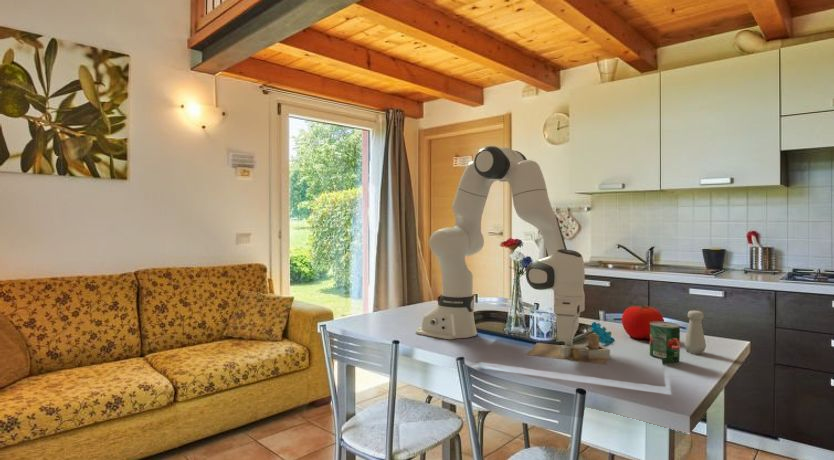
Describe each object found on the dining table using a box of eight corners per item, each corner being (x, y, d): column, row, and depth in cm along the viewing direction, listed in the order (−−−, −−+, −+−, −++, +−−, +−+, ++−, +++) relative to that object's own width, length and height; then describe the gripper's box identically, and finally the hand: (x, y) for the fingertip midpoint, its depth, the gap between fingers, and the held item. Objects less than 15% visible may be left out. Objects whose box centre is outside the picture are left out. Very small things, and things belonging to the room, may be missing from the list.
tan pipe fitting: (566, 360, 135) (566, 349, 135) (557, 353, 142) (557, 343, 141) (609, 358, 137) (610, 348, 136) (599, 352, 143) (599, 342, 143)
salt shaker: (704, 356, 143) (705, 313, 143) (683, 353, 147) (683, 311, 147) (706, 351, 148) (707, 310, 148) (686, 348, 152) (686, 308, 151)
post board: (526, 359, 141) (526, 334, 140) (536, 347, 154) (536, 324, 154) (605, 369, 131) (605, 343, 131) (609, 355, 144) (609, 331, 144)
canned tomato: (648, 356, 144) (648, 320, 144) (677, 358, 141) (678, 322, 141) (650, 363, 137) (650, 325, 136) (681, 366, 134) (681, 328, 133)
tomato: (640, 331, 174) (640, 300, 174) (672, 340, 162) (672, 307, 161) (613, 335, 170) (613, 302, 169) (644, 344, 157) (644, 309, 157)
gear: (608, 346, 148) (588, 320, 154) (594, 357, 151) (575, 331, 157) (623, 345, 156) (603, 320, 162) (610, 355, 159) (591, 330, 164)
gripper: (563, 297, 152) (562, 340, 153) (552, 308, 134) (552, 357, 134) (583, 299, 149) (583, 342, 150) (576, 310, 131) (575, 360, 131)
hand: (568, 349), depth 142 cm, fingers closed
